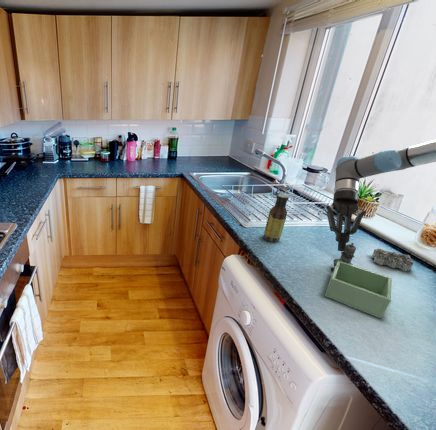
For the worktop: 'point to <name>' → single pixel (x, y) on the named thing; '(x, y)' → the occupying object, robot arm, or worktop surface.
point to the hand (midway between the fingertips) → (341, 250)
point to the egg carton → (392, 259)
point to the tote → (360, 288)
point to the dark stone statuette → (346, 255)
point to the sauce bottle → (276, 219)
